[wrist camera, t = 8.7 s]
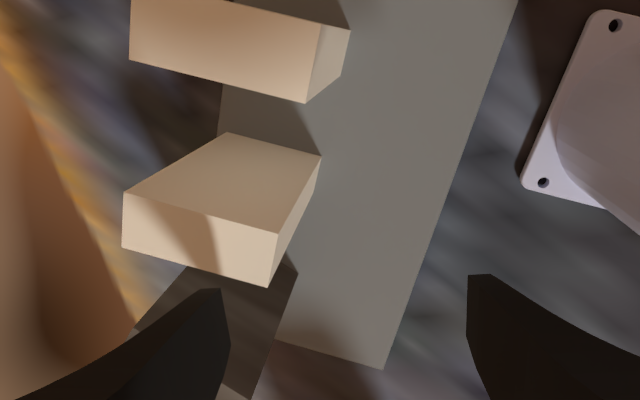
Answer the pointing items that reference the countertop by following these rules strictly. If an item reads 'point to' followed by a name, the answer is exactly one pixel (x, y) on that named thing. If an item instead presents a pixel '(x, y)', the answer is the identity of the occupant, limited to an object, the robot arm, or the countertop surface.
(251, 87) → the domino
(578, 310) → the countertop surface
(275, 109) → the mat
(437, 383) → the countertop surface
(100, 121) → the countertop surface
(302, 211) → the domino
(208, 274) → the domino
